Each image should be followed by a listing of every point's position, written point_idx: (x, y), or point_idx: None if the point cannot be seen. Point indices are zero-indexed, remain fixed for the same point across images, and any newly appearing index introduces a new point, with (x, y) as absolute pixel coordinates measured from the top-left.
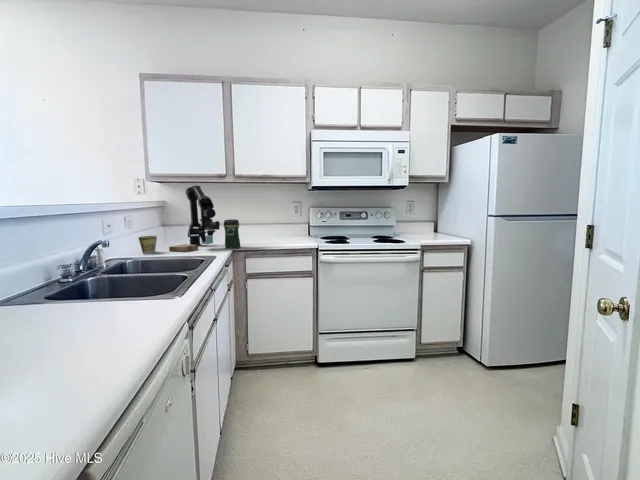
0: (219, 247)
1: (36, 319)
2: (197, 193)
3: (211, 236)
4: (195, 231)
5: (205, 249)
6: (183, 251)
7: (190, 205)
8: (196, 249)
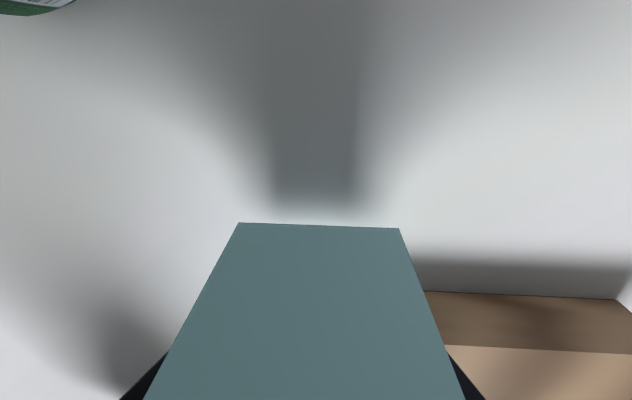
0: (130, 174)
1: None
2: None
3: (220, 378)
4: None
5: (363, 224)
6: (622, 309)
7: None
8: None
